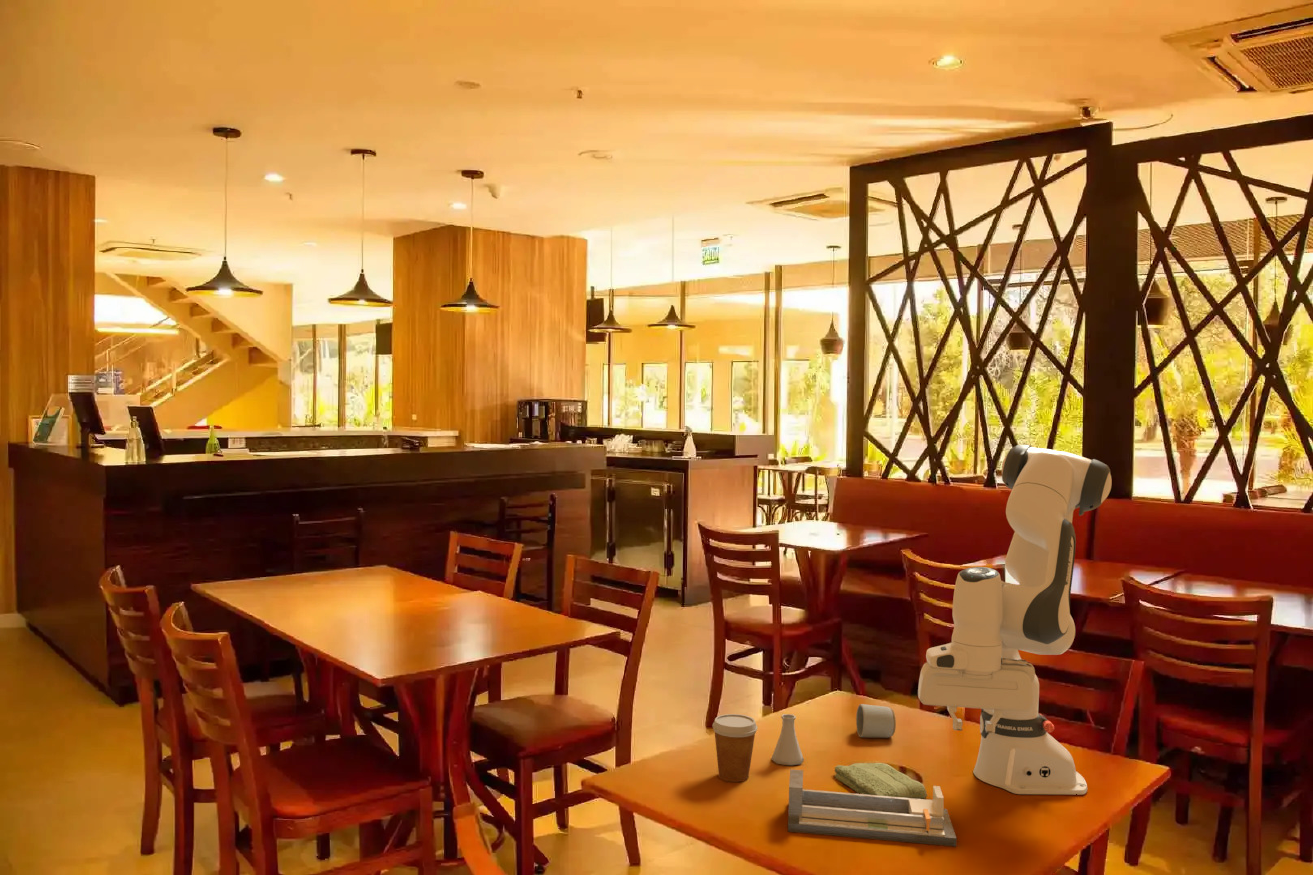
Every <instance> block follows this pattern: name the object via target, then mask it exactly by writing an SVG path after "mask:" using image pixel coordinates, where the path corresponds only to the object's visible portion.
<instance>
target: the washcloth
mask: <svg viewBox="0 0 1313 875" xmlns="http://www.w3.org/2000/svg"><path fill="white" fill-rule="evenodd" d="M834 772H835V775H834V778H835V779H836V780H837V781H839V782H841V783H842V784H844V785H846V786H847V787H849V788H850V789H852V790H853V791H855V792H856V793H857V794H859V793H860V794H866V795H878V796H890V797H902V798H914V799H926V798H927V796H928V793H927V790H926V787H925V785H924V784H923V783H922V782H920V781H918V780H915V779H913V778H911V777H909V776H908V774H904V773H903V772H900V771H898V770H897V769H896V768H894V767H893V766H891V765H889V764H887V763H883V762H874V763H871V762H867V763H865V762H864V763H861V762H860V763H853V764H851V765H842V764H839V765H836V766H834Z"/></svg>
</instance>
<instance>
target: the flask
mask: <svg viewBox="0 0 1313 875" xmlns="http://www.w3.org/2000/svg"><path fill="white" fill-rule="evenodd" d="M780 717H781V719H782V725H781V731H780V734H779V737H778V740H777V743H776V745H775V747H774V751H773V752H772V756H771V758H770V759H771V760H772V761H773V762H774V763H775V764H777V765H785V766H796V765H797V766H798V765H802V764H803V761H804V757H803V756H804V755H803V753H802V750H801V747H800V744H799V740H798V738H797V732H796V727H795V720H796V715H794V714H791V713H783V714H782V715H780Z"/></svg>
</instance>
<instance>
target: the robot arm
mask: <svg viewBox="0 0 1313 875" xmlns="http://www.w3.org/2000/svg"><path fill="white" fill-rule="evenodd" d="M1001 480H1002V482H1003V483H1004V486H1005V487H1007V488H1008V489H1010V490H1011V492H1010V494H1009V496H1008V500H1007V502H1006V507H1005V515H1006V520H1007V522H1008V524H1009V526H1010V527H1011V528H1012V530H1013V532H1014V533H1013V535H1012V538H1011V541H1010V545H1009V547H1008V551H1007V554H1006V556H1005V559H1004V561H1005V562H1004V563H1005V564H1004V565H1005V568H1006V571H1007V572H1008V574H1009V575H1010V577H1012V578H1013V579H1014V580H1015V581H1016V582H1017V584H1015V583H1011V582H1006V581H1003V580H1002V578H1001V574H1000V573H999V571H998V570H995V569H993V568H992V567H991V568H990V567H986V566H985V567H984V566H975V567H968V568H967V567H966V568H964V569H962V570H961V571H959V572H958V574H957V577H956V579H955V585H954V591H953V600H952V620H953V624H954V625H953V626H954V628H953V631H952V635H951V642H949V643H946V644H941V645H937V646H934V647H933V646H932V647H930V648H928V649H927V650H926V654H925V658H926V662H924V664H923V665H922V667H921V670H920V673H919V679H918V687H917V688H918V689H917V696H918V699H919V701H920V703H922V705H925V706H937V707H940V706H941V707H946V708H947V711H948V713H949V716H950V717H951V719H952V729H953V731H963V721H962V719H961V718H957V716H956V714H955V713H957V711H958V709H957V708H968V709H981V711H980V717H979V731H980V732H979V733H980V735H981V738H980V745H979V749H978V755H977V759H976V763H975V765H974V767H973V768H974V769H973V775H974V776H975V777H976V778H977V779H979V781H982V782H984V783H986V784H988V785H991V786H995V787H998V788H1001V789H1003V790H1006V791H1008V792H1010V793H1012V794H1015V795H1016V794H1017V795H1076V794H1077V795H1085V794H1086V793H1087V792H1088V784H1087V782H1086V780H1085V777H1083V776H1082V774H1080V773H1079V772H1078V771H1076V765H1075V762H1074V758H1073V756H1072V754H1071V753H1070V751H1069V750H1068V749H1067V748H1066V747H1065V746H1063V744H1061V743H1060V742H1059V741H1058V740H1056V738H1054V737H1053V736H1052V735H1051V734H1050V733H1053V731H1055V725H1054V724H1053V723H1052V722H1051V721H1050V720H1049V719H1047V717H1045V716H1044V715H1042V713H1039V703H1040V702H1039V701H1040V700H1039V698H1040V682H1039V678H1038V676H1037V675H1036V669H1035V667H1034V665H1033V664H1032V663H1031V662H1028V661H1027V659H1022V658H1021V655H1020V652H1019V651H1023V652H1026V653H1031V654H1034V655H1035V654H1036V655H1045V656H1047V655H1049V656H1051V655H1052V656H1053V655H1054V656H1057V655H1062V654H1064V653H1065V652H1067V651H1068V650H1069V649H1070V648H1071V646H1072V645H1073V642H1074V641H1075V640H1074V639H1075V637H1076V625H1075V622H1074V619H1073V617H1072V615H1071V592H1072V583H1073V575H1074V570H1075V569H1074V567H1075V558H1076V547H1077V546H1076V545H1077V540H1076V539H1077V537H1076V533H1075V532H1076V531H1075V527H1074V525H1073V517H1074V511H1075V510H1076V509H1078V510H1079V511H1078V516H1083V515H1084V514H1085V512H1090V511H1093V510H1095V509H1097V508H1098V507H1100V506H1102V504H1103V502H1104V501H1105V500H1106V499H1107V498H1108V496H1109V494H1110V492H1111V490H1112V475H1111V469H1110V467H1109V465H1107V464H1105V463H1104V462H1102V461H1100V460H1098V459H1095V458H1093V459H1090V458H1087V457H1084V456H1081V455H1078V454H1076V453H1072V452H1069V451H1064V450H1061V451H1060V450H1055V449H1050V448H1043V447H1034V446H1032V445H1030V444H1017V445H1015V446H1013V447H1011V448H1009V450H1008V453H1007V454H1006V455H1005V456H1004V458H1003V460H1002V464H1001ZM1018 583H1019V584H1018ZM1077 795H1076V796H1077Z"/></svg>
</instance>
